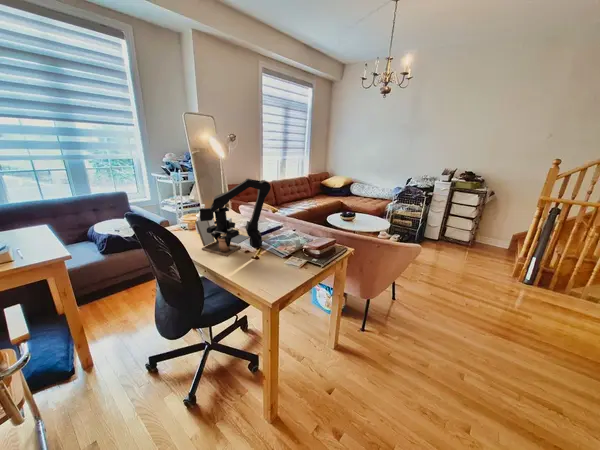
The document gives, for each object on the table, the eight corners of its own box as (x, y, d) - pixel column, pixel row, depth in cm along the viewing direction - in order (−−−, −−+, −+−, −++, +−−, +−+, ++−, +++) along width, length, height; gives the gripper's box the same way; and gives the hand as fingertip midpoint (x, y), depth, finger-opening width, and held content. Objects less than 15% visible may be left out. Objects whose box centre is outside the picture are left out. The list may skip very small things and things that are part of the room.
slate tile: (249, 238, 155) (249, 236, 154) (238, 244, 146) (238, 243, 145) (236, 235, 159) (236, 233, 159) (224, 241, 150) (224, 239, 150)
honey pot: (196, 228, 172) (192, 204, 165) (215, 226, 176) (212, 202, 170) (196, 235, 160) (192, 209, 154) (216, 232, 164) (213, 207, 158)
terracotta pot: (232, 248, 139) (231, 236, 136) (225, 253, 133) (223, 240, 131) (224, 246, 141) (223, 234, 139) (216, 250, 136) (215, 238, 133)
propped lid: (206, 217, 142) (206, 217, 142) (195, 221, 135) (194, 221, 136) (214, 241, 145) (214, 241, 145) (204, 246, 138) (203, 246, 139)
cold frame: (241, 249, 140) (238, 221, 134) (226, 258, 130) (222, 228, 124) (210, 241, 150) (207, 215, 144) (195, 249, 140) (190, 221, 134)
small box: (233, 232, 165) (231, 217, 161) (230, 235, 160) (228, 220, 156) (222, 232, 166) (220, 217, 162) (218, 235, 160) (216, 220, 157)
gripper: (244, 217, 134) (246, 243, 139) (219, 213, 142) (222, 237, 147) (230, 223, 124) (233, 251, 130) (204, 218, 133) (208, 244, 138)
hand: (224, 245), depth 136 cm, fingers closed on terracotta pot, 6 cm apart
